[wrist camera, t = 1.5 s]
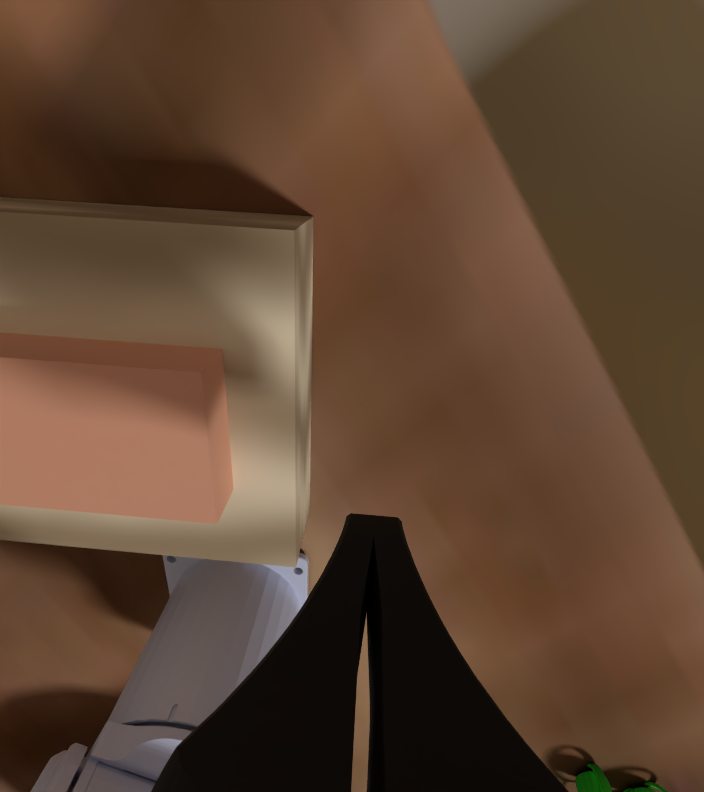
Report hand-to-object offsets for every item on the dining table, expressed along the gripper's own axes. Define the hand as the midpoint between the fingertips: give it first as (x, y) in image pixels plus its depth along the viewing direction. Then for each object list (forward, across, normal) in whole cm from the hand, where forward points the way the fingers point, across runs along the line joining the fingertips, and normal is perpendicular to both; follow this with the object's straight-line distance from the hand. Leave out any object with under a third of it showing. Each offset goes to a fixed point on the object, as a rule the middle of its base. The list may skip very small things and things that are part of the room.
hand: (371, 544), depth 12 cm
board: (+9, +10, 0) cm, 14 cm away
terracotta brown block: (+5, +10, 0) cm, 11 cm away
